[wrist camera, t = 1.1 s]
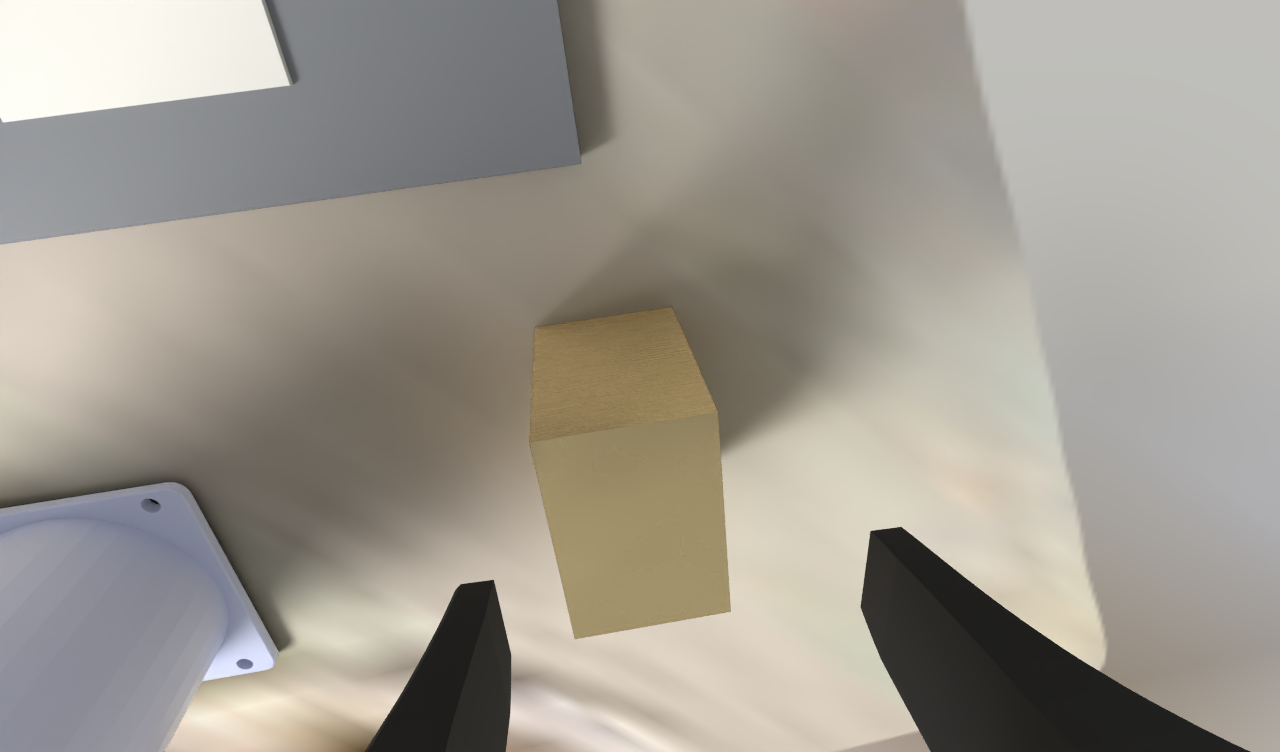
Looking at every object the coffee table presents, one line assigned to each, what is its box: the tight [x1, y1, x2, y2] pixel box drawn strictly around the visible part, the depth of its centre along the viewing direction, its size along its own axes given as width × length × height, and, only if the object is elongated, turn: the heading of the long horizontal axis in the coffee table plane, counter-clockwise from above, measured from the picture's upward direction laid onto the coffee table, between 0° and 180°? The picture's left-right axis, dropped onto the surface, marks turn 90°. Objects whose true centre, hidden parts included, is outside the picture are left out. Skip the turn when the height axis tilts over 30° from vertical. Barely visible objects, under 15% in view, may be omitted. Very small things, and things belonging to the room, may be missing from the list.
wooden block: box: [529, 307, 731, 639], centre depth 18 cm, size 4×6×6 cm, turn 6°
